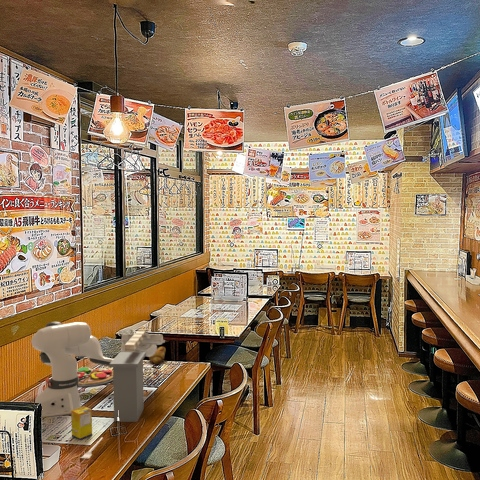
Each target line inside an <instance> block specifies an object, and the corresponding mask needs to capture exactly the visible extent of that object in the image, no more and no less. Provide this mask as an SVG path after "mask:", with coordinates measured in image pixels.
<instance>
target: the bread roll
mask: <svg viewBox="0 0 480 480" xmlns="http://www.w3.org/2000/svg"><path fill="white" fill-rule="evenodd" d="M165 355H166V347H165V346H159V347H157V350H156V353H155V354H154V355H153V356H151V357H148V359H149V361H150V362H152V363H153V364H160V363H162V362H163V361H164V360H165Z"/></svg>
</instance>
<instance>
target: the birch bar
mask: <svg viewBox="0 0 480 480" xmlns="http://www.w3.org/2000/svg"><path fill="white" fill-rule="evenodd" d="M134 333H135V334H134V335H133V336H132V337H131V338H130V340H129V341H128V342H127V343H126V344H125V351H134V350H135V349H136V348H137V346H138V345H139V344H140V343H141V341H142V340H143V339H144V338H145V337H144V333H147V332H146V330H137V331H135V332H134Z"/></svg>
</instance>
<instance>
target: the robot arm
mask: <svg viewBox="0 0 480 480" xmlns="http://www.w3.org/2000/svg"><path fill="white" fill-rule="evenodd" d="M135 333H136V332H132V333H122V334H121V339H120V340H121V347H120V352H146V356H145V357H147V358H149V357H151V356H153V355H154V354H155V353H156V350H157V349H158V346H160V345H163V343H165V341H166V340H165V339H164V336H163V334H160V333H148V332H146V333H144V337H145V338H144V339H143V340H142V341H141V343H140V344H139V345H138V346H137V348H136V349H135V350H134V351H125V344H126V343H127V342H128V341H129V340H130V338H131V337H132V336H133V335H134V334H135ZM30 342H31V346H32V348H33V349H34V350H36V351H39V352H40V354H39V357H40V361H41V362H42V363H43V364H44V365H47V366H51V378H49V377H46V378H45V380H44V381H45V383H46V384H47V387H46V388H45V389H44V390H42V391H41V392H40V393H39V394H38V395H36V397H35V402H34V404H35V403H41V404H42V409H43V410H42V417H41V418H47V417H53V416H54V417H55V416H56V417H57V416H62V415H71V410H74V409H77V408H80V407H82V401H81V399H80V394H79V387H78V385H79V379H78V376H77V369H78V361H77V358H76V357H86V358H88V360H89V362H91V363H94V364H96V365H100V366H104V367H109V364H110V363H111V362H112V360H113V359H114V358H110V357H106V356H104V353H103V351H102V347H101V346H102V345H101V343H100V341H99V340H98V338H97V337H96V336H94V335H92V329H91V326H90V325H89V324H88V323H87V322H85V321H84V322H82V321H79V322H78V321H73V322H67V323H62V322H60V321H50V322H48V323H46V324H45V327H43V328H40V329H38V330H37V332H35V333H34V334H33V335H32V337H31V341H30ZM109 368H110V367H109Z"/></svg>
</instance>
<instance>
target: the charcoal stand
mask: <svg viewBox="0 0 480 480" xmlns="http://www.w3.org/2000/svg"><path fill="white" fill-rule="evenodd" d="M145 357H147V356H146V352H121V351H120V352H118V354H117V355H116V356H115V357H114V358H112V359H113V360H112V362H111V363H110V364H109V368H112V371H113V381H112V382H113V385H112V386H113V390H112V391H113V421H114V422H115V423H117V422H116V421H117V417H118V410H119V418H120V422H119V423H121V422H123V423H132V422H133V423H137V422H138V421H139V419H140V417H141V416H142V414H143V411H144V407H145V405H144V404H145V403H144V359H145Z"/></svg>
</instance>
